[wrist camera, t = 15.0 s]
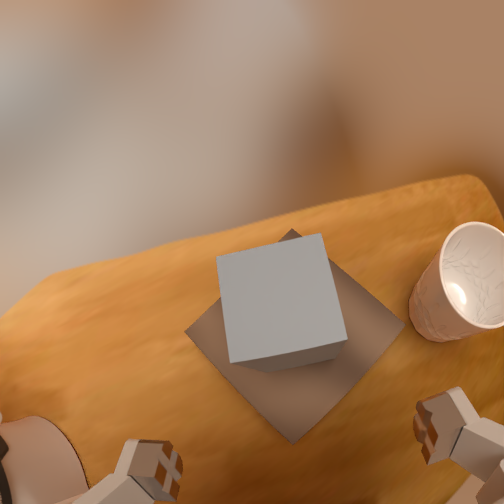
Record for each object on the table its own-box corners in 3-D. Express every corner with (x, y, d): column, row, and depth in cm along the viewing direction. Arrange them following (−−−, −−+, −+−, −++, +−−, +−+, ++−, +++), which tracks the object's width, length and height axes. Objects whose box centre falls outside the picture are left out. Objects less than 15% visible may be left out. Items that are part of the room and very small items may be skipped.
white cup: (395, 340, 26) (433, 317, 17) (408, 262, 29) (441, 210, 20) (466, 354, 24) (524, 335, 15) (474, 278, 27) (524, 235, 18)
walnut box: (296, 433, 25) (292, 445, 19) (207, 342, 30) (184, 331, 24) (387, 337, 27) (405, 324, 21) (295, 256, 32) (292, 228, 26)
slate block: (334, 358, 21) (347, 339, 12) (266, 372, 22) (230, 363, 13) (320, 293, 23) (320, 232, 14) (255, 307, 24) (216, 256, 15)
